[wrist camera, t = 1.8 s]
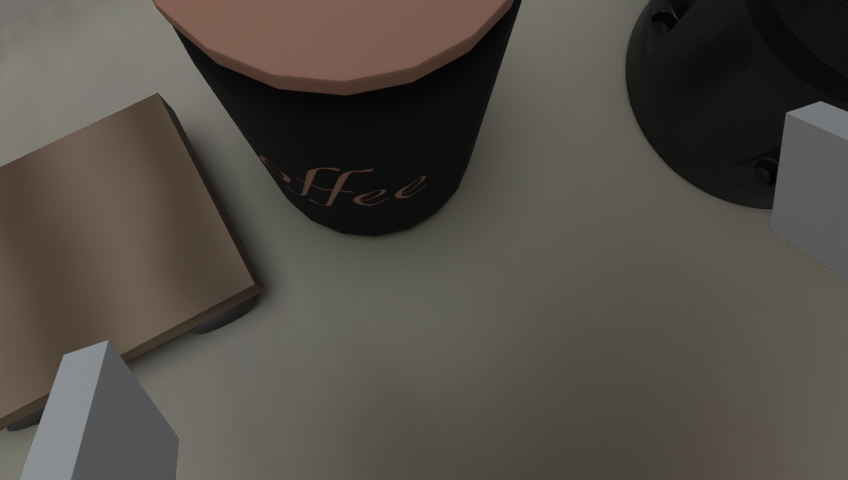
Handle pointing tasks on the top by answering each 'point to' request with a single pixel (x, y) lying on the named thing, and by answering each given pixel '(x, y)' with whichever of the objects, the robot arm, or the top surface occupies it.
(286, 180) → the coffee jar
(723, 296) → the top surface
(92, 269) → the brown toy cart
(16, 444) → the top surface
